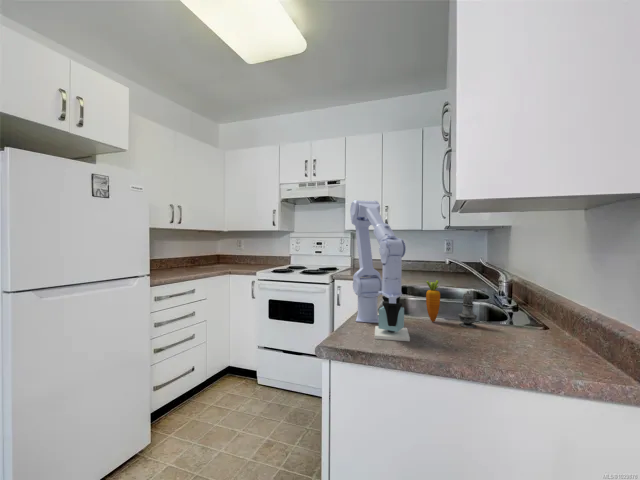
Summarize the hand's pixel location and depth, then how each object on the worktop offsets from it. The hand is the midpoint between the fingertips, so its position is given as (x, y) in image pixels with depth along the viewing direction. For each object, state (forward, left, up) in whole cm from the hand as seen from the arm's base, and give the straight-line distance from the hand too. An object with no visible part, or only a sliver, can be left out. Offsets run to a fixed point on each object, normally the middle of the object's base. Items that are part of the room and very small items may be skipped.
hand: (391, 322), depth 93 cm
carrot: (-18, +15, -4) cm, 24 cm away
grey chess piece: (-16, +26, -4) cm, 31 cm away
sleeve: (0, 0, -2) cm, 2 cm away
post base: (0, 0, -4) cm, 4 cm away
